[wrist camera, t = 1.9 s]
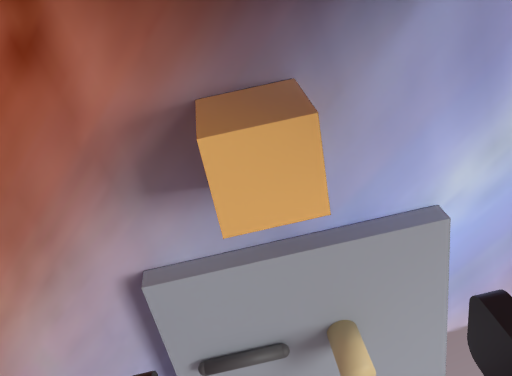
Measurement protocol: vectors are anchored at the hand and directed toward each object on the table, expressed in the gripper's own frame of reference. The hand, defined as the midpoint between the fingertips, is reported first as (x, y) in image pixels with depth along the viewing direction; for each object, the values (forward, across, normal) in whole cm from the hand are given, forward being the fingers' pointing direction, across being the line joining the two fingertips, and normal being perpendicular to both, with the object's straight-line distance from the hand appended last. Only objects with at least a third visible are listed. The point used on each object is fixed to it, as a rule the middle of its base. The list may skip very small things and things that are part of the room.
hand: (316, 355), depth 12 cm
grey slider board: (+14, -1, +14) cm, 20 cm away
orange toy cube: (+14, 0, 0) cm, 15 cm away
